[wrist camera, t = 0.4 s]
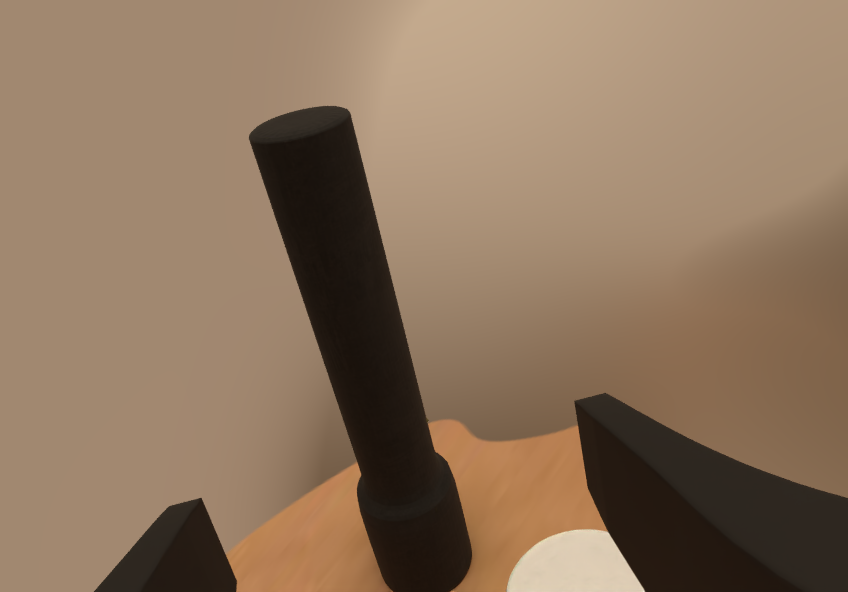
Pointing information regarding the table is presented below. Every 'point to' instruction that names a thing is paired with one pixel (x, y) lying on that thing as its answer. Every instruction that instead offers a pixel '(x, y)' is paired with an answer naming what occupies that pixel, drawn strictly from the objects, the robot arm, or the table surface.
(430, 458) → the flashlight
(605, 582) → the pill bottle
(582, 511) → the table surface
